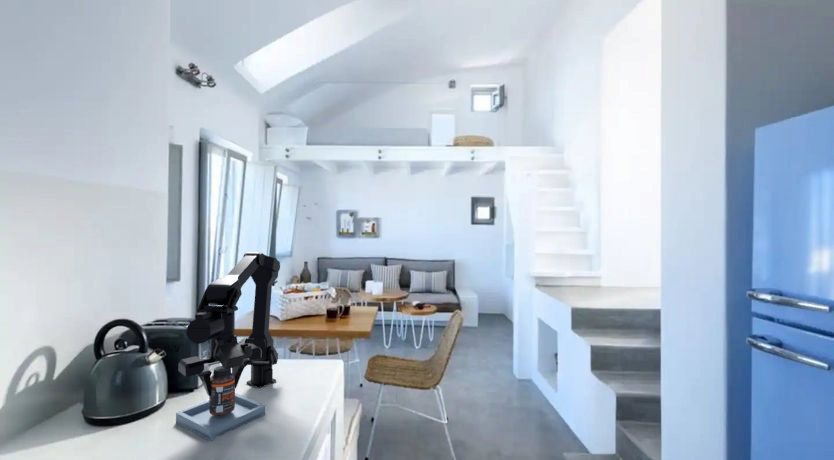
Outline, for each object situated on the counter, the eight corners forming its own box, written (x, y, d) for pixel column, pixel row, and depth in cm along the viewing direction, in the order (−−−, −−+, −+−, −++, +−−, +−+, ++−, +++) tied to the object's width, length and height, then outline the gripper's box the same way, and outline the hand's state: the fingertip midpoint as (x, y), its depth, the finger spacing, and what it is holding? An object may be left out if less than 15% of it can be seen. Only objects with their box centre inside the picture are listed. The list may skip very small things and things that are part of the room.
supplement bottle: (224, 418, 98) (224, 373, 98) (203, 415, 99) (203, 371, 99) (240, 407, 104) (239, 364, 104) (220, 404, 105) (219, 362, 105)
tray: (175, 422, 99) (176, 412, 99) (231, 400, 112) (231, 391, 112) (209, 440, 91) (210, 430, 91) (265, 414, 104) (265, 405, 104)
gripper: (194, 347, 89) (194, 415, 89) (272, 330, 103) (271, 390, 103) (177, 336, 96) (177, 399, 97) (252, 322, 110) (252, 378, 111)
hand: (222, 391), depth 102 cm, fingers closed on supplement bottle, 6 cm apart
